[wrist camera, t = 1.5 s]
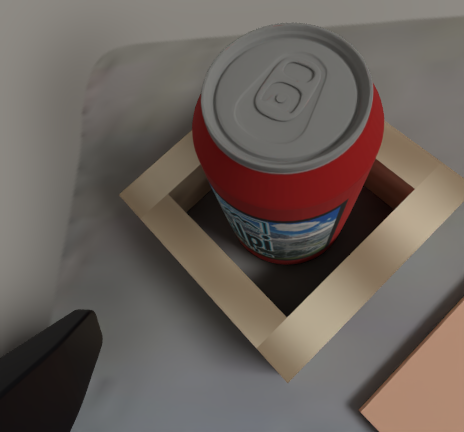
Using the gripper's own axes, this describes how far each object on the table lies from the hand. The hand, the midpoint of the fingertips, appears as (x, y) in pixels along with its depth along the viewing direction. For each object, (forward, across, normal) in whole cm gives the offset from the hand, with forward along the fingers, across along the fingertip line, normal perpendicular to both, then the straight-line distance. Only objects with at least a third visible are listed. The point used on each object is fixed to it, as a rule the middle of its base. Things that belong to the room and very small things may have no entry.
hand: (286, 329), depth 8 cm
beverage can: (+15, 0, +4) cm, 15 cm away
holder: (+14, 0, +4) cm, 15 cm away
